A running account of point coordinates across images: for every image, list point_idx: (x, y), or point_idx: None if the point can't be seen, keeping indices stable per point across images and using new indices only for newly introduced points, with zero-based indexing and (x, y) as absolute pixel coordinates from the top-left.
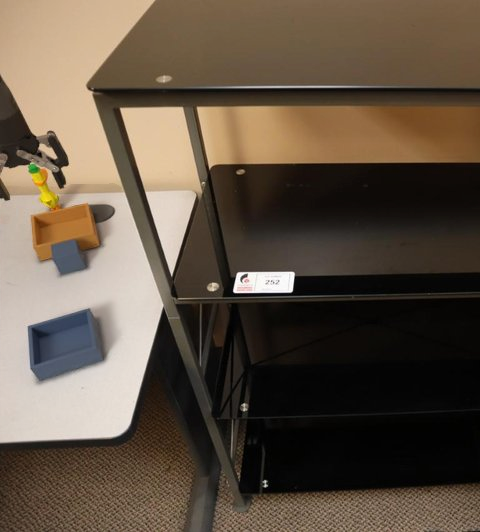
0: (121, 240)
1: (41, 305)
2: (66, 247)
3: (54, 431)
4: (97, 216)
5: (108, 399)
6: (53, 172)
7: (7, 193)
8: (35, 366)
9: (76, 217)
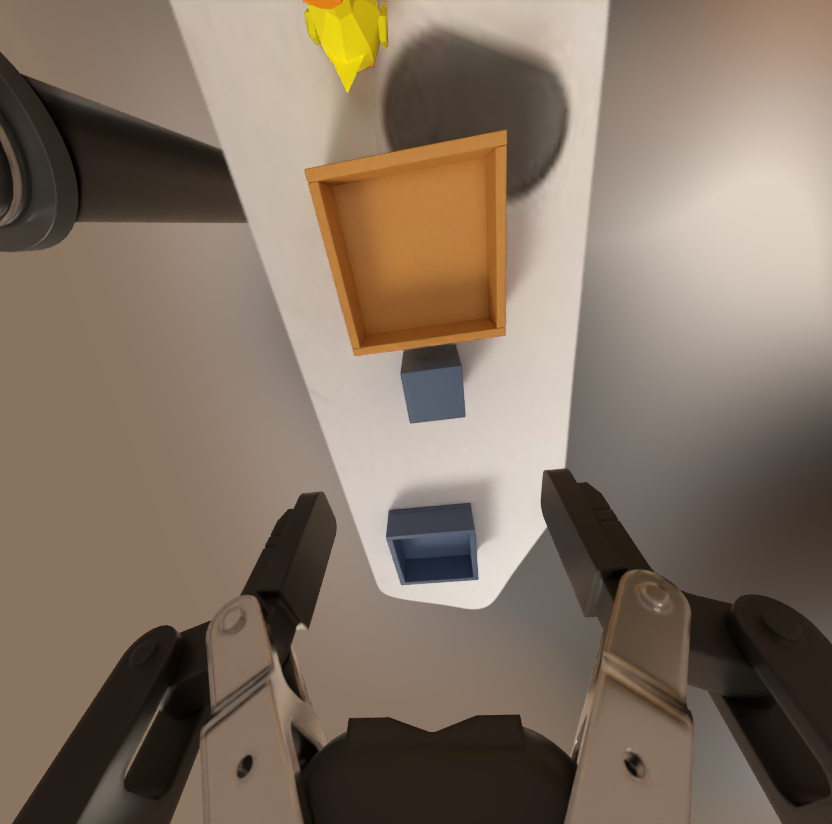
0: (548, 313)
1: (385, 457)
2: (439, 394)
3: (423, 598)
4: None
5: (474, 586)
6: (595, 614)
7: (323, 528)
8: (406, 584)
9: (443, 163)
